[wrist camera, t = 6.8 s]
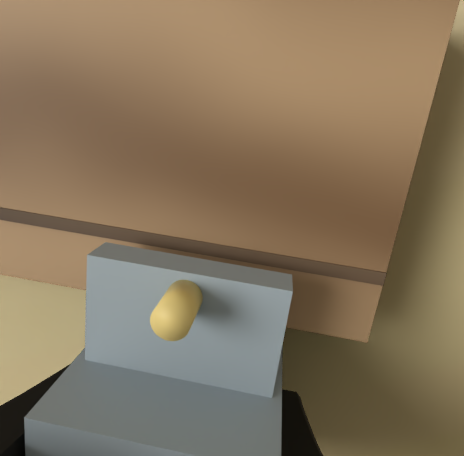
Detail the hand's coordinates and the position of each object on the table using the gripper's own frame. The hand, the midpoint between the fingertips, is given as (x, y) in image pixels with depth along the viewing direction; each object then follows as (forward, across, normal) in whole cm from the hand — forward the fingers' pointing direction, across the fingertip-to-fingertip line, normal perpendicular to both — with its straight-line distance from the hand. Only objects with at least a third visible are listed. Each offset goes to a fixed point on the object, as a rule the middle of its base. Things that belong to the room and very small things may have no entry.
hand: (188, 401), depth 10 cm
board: (+2, +6, -6) cm, 9 cm away
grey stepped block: (+1, 0, -1) cm, 2 cm away
